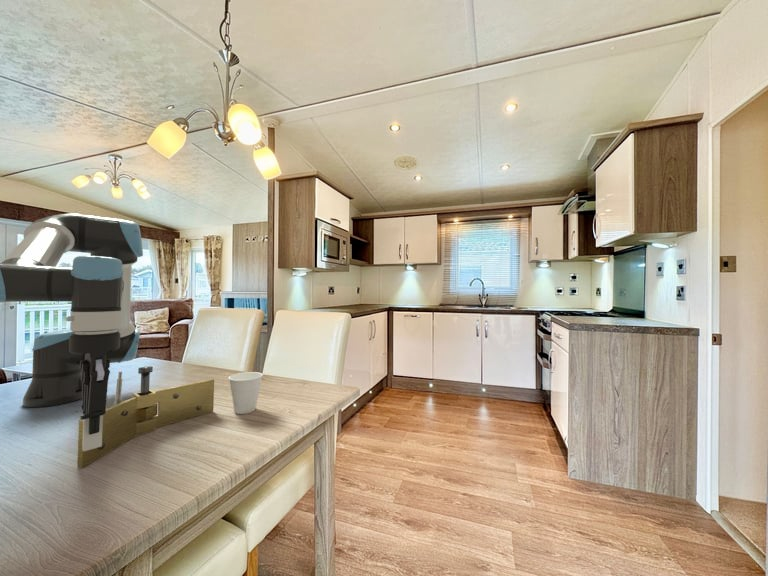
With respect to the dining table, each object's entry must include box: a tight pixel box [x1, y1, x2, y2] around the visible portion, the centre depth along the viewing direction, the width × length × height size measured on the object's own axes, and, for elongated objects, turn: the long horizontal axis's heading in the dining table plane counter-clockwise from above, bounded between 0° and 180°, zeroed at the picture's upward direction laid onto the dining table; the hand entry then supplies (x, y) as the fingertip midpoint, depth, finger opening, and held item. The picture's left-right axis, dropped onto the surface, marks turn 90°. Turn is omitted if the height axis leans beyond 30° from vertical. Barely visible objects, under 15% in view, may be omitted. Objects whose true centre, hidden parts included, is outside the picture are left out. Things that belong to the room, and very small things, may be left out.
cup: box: [228, 371, 264, 415], centre depth 94 cm, size 10×10×11 cm
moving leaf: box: [76, 396, 158, 469], centre depth 72 cm, size 4×19×10 cm, turn 2°
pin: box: [138, 365, 154, 408], centre depth 80 cm, size 3×3×11 cm
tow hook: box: [113, 371, 123, 406], centre depth 93 cm, size 8×13×9 cm
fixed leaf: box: [132, 378, 215, 437], centre depth 85 cm, size 4×19×10 cm, turn 142°
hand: (92, 447), depth 61 cm, fingers closed
